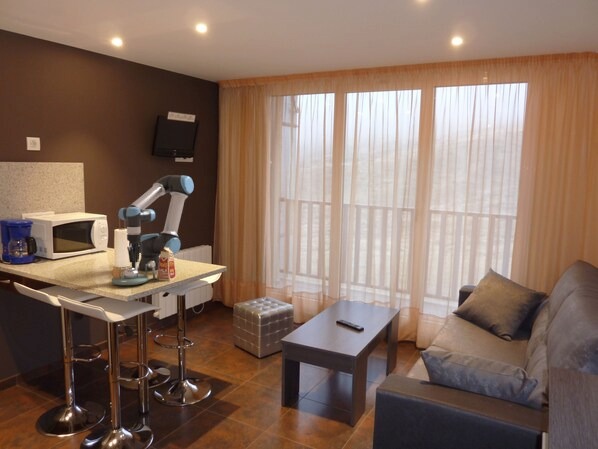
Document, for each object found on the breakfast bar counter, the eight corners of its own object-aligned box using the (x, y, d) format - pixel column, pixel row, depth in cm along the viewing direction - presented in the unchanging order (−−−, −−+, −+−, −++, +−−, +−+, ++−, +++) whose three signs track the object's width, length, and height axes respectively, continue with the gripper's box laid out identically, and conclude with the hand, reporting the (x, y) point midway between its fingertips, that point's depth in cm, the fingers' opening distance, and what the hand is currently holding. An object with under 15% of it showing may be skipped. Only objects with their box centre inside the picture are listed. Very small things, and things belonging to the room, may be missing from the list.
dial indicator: (149, 279, 275) (149, 259, 273) (158, 280, 275) (158, 260, 273) (145, 281, 270) (145, 261, 268) (155, 282, 269) (154, 262, 268)
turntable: (121, 275, 276) (121, 265, 275) (153, 277, 275) (153, 266, 274) (104, 284, 257) (104, 272, 256) (139, 285, 255) (139, 274, 254)
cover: (127, 275, 271) (127, 266, 270) (140, 276, 270) (140, 266, 270) (121, 278, 263) (120, 269, 263) (134, 279, 262) (134, 269, 262)
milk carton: (170, 280, 274) (169, 247, 271) (155, 279, 276) (155, 247, 273) (177, 277, 283) (176, 245, 280) (163, 276, 285) (162, 244, 282)
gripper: (132, 231, 275) (133, 270, 278) (122, 235, 262) (123, 275, 265) (144, 232, 274) (145, 270, 277) (135, 235, 262) (135, 275, 265)
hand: (134, 272), depth 271 cm, fingers closed
